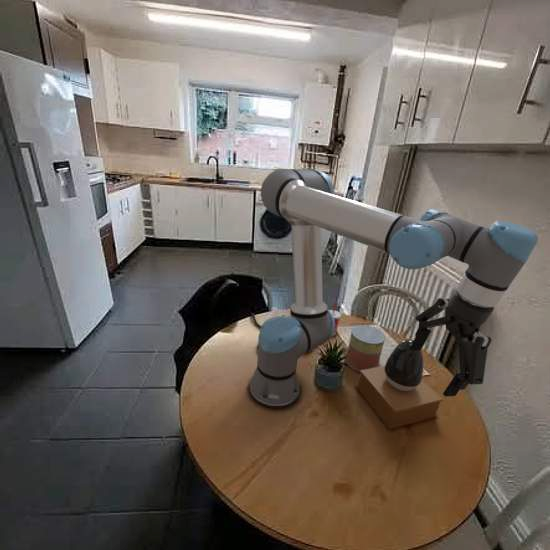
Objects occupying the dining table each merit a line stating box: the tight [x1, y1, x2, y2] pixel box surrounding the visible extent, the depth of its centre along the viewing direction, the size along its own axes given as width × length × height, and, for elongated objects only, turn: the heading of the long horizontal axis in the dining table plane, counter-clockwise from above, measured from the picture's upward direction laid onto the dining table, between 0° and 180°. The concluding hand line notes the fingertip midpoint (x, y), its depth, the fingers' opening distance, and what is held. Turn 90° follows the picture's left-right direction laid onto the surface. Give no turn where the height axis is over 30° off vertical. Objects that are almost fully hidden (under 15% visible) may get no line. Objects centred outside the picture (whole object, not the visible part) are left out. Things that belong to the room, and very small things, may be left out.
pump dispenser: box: [384, 338, 424, 391], centre depth 89 cm, size 10×10×15 cm
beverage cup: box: [328, 301, 342, 337], centre depth 125 cm, size 6×6×14 cm
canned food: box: [345, 324, 386, 373], centre depth 109 cm, size 11×11×12 cm
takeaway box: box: [357, 365, 444, 430], centre depth 93 cm, size 17×17×7 cm
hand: (430, 370), depth 73 cm, fingers open, 13 cm apart
